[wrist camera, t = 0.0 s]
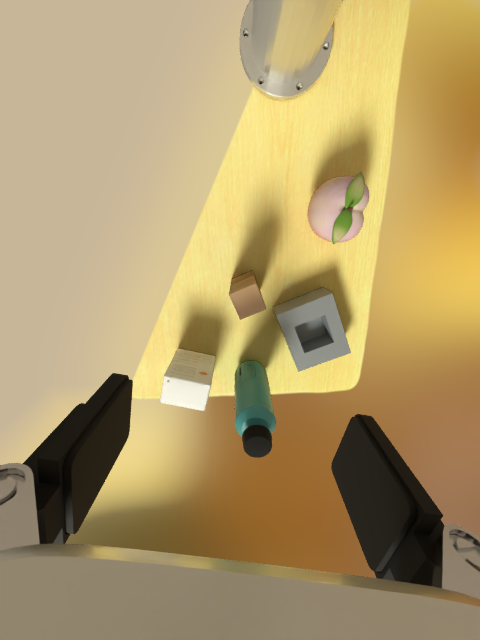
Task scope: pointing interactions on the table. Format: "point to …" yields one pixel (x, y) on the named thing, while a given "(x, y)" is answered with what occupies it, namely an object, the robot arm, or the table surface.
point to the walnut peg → (246, 295)
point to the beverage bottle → (254, 409)
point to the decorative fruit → (338, 208)
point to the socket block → (312, 328)
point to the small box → (188, 380)
